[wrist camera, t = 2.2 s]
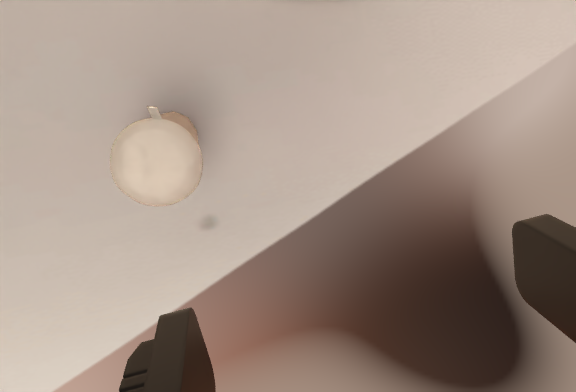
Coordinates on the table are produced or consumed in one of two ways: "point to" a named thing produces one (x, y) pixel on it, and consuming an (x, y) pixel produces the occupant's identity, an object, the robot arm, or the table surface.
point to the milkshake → (157, 159)
